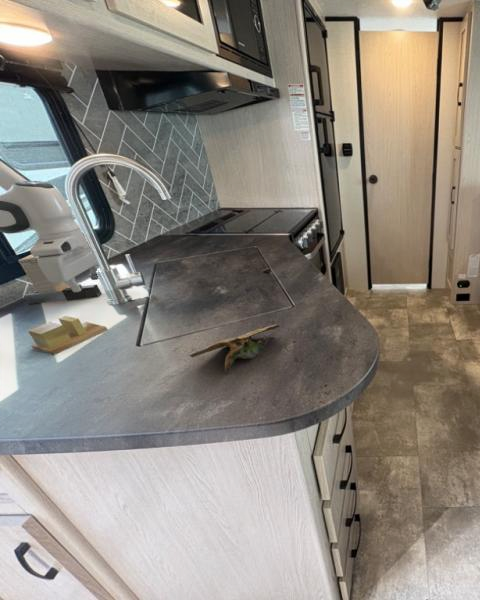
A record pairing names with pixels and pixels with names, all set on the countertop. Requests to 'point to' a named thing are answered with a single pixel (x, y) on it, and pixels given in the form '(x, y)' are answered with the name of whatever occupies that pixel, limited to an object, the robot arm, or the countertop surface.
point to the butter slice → (72, 325)
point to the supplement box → (39, 276)
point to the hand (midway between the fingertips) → (87, 284)
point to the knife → (63, 295)
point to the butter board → (74, 338)
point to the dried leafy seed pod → (239, 347)
